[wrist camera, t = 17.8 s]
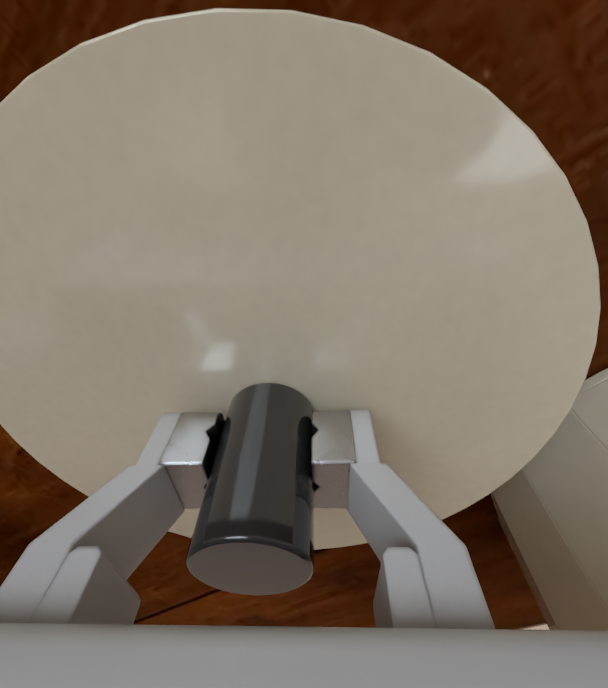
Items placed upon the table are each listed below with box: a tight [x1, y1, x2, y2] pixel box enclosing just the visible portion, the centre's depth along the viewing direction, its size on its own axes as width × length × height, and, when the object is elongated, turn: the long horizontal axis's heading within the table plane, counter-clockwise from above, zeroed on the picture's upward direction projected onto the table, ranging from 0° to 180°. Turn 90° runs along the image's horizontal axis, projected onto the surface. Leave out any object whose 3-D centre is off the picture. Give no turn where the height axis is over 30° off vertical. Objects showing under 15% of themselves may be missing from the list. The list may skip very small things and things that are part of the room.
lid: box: [0, 8, 601, 595], centre depth 8 cm, size 17×17×5 cm
